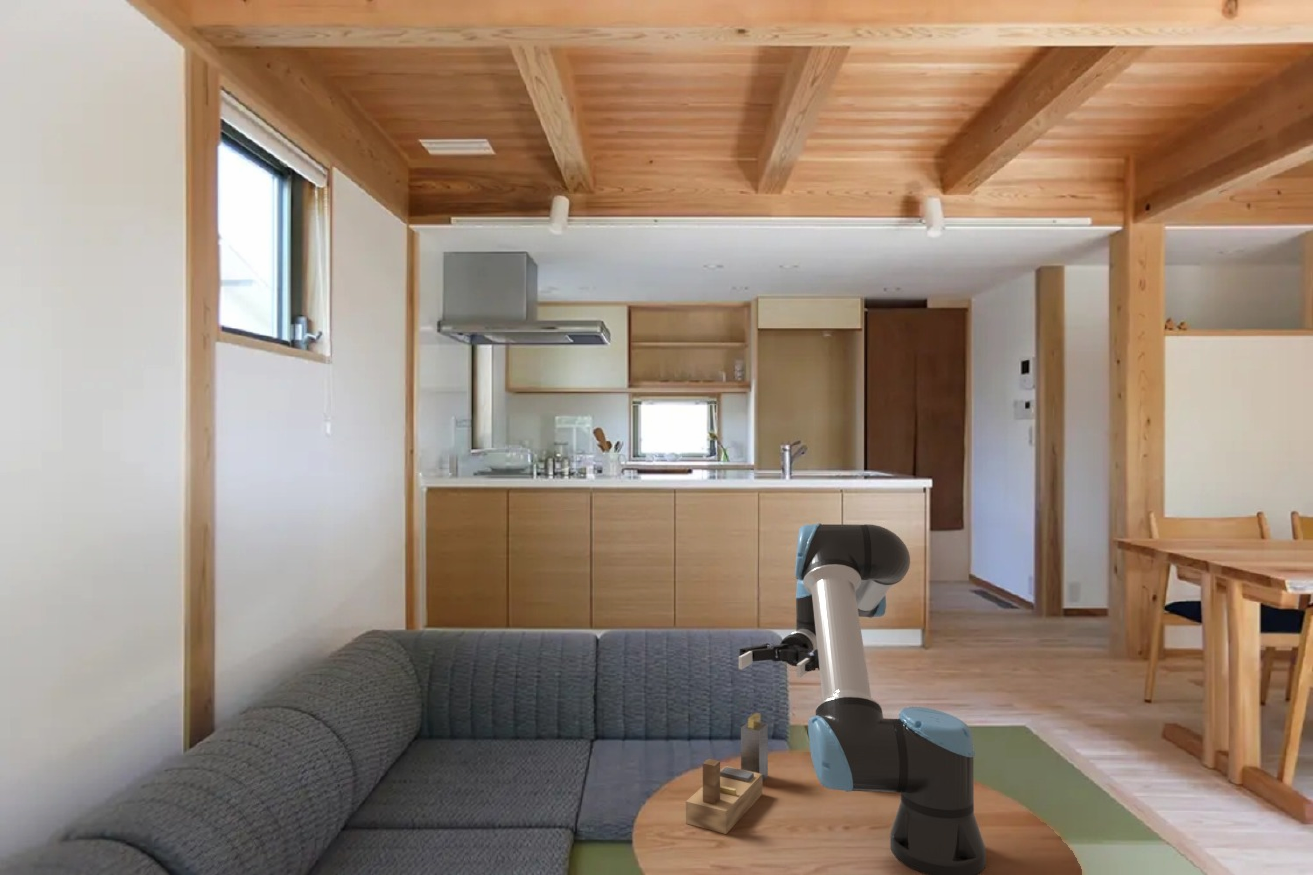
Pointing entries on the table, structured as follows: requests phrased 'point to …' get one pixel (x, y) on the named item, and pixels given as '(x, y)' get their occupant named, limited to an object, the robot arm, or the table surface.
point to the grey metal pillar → (755, 746)
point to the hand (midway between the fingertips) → (768, 666)
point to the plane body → (722, 797)
